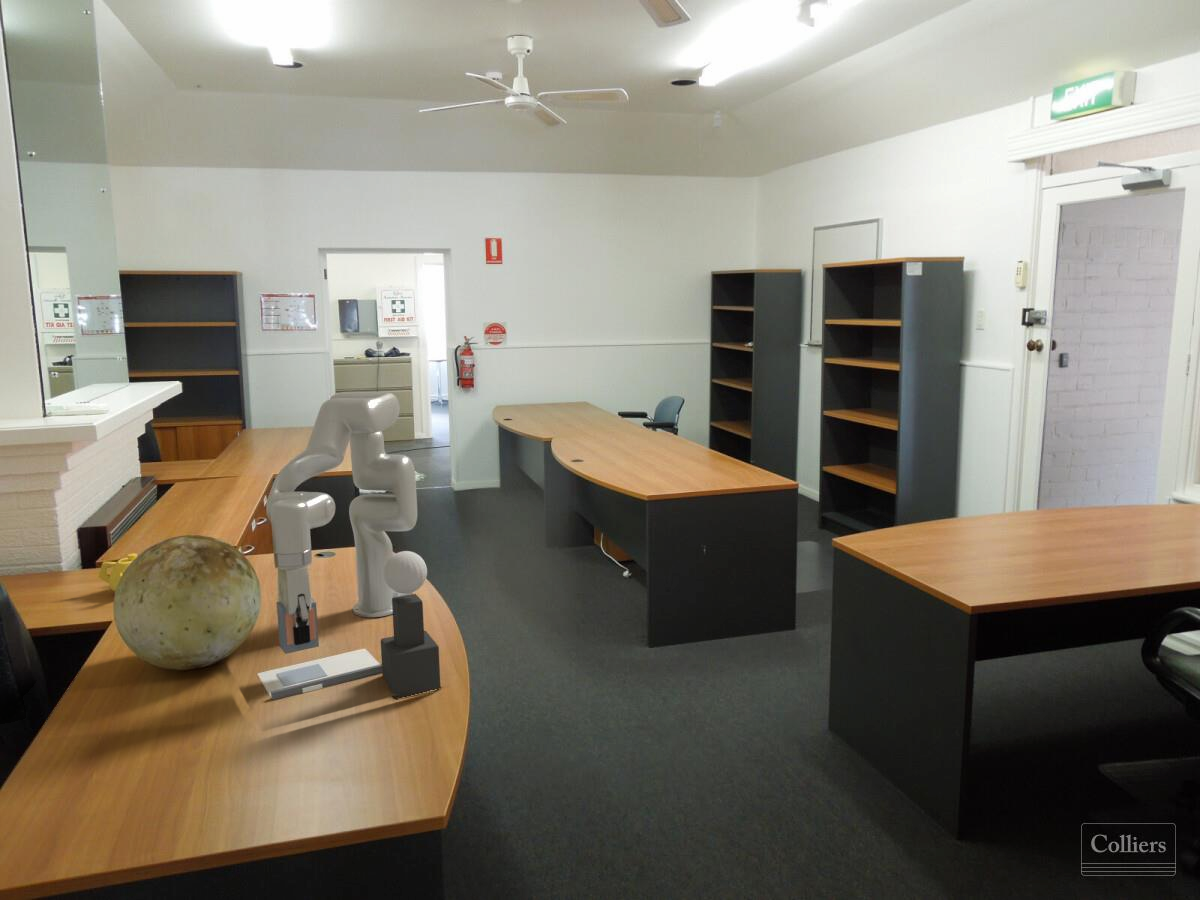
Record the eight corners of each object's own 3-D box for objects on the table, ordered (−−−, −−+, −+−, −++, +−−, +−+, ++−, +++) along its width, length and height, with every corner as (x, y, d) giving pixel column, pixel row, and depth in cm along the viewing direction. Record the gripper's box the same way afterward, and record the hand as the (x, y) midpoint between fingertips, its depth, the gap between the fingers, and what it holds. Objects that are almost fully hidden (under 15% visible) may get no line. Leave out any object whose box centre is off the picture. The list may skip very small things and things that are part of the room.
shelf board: (365, 654, 197) (364, 642, 197) (387, 678, 185) (386, 665, 184) (257, 679, 184) (256, 667, 184) (273, 707, 172) (272, 693, 171)
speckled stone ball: (275, 632, 210) (266, 516, 205) (253, 685, 182) (241, 552, 176) (145, 644, 204) (131, 524, 199) (100, 700, 175) (84, 562, 170)
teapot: (161, 600, 235) (157, 562, 233) (89, 606, 230) (84, 567, 228) (177, 578, 254) (174, 542, 252) (112, 583, 249) (108, 547, 247)
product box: (279, 646, 182) (276, 602, 180) (312, 639, 186) (309, 595, 184) (285, 654, 178) (282, 609, 176) (319, 646, 181) (316, 602, 180)
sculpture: (393, 701, 174) (386, 562, 169) (382, 681, 183) (374, 549, 178) (441, 690, 179) (435, 554, 173) (427, 672, 187) (421, 542, 182)
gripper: (265, 551, 183) (271, 630, 186) (284, 571, 169) (290, 656, 172) (301, 545, 187) (306, 623, 190) (322, 564, 173) (327, 648, 176)
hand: (298, 638), depth 181 cm, fingers closed on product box, 5 cm apart
